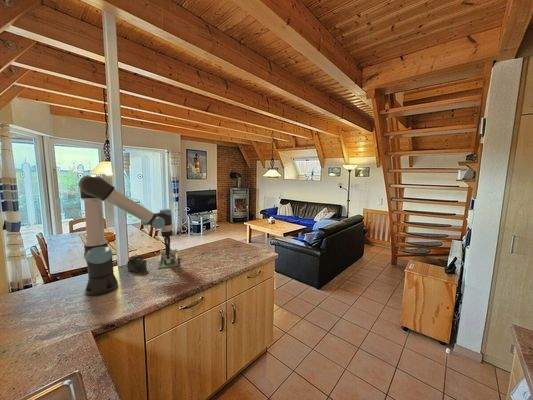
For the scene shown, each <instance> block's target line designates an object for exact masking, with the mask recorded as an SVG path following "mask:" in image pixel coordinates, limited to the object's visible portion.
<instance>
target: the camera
mask: <svg viewBox="0 0 533 400" xmlns="http://www.w3.org/2000/svg"><path fill="white" fill-rule="evenodd" d="M143 258H144V255H141V254H139V255H133V256H132V257H131V258H130V259H129V260H128V261H127V270H128V271H131V272H133V273H138V274H139V273H140V274H141V273H144V272H146V271H147V262H148V261H147V260H146V259H143Z"/></svg>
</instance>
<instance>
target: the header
mask: <svg viewBox="0 0 533 400" xmlns="http://www.w3.org/2000/svg"><path fill="white" fill-rule="evenodd" d="M170 249H171V248H170ZM173 253H174V255H175V262H174V263H169V264H164V261H163V257H164V255H165V254H166V249H165V250H164V249H163V250H159V257H158V264H157V269H158V270H159V269H166V268H168V269H169V268H174V267H175V268H176V267H179V255H178V248H173V249H171V251H170V254H173Z"/></svg>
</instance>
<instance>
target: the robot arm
mask: <svg viewBox="0 0 533 400" xmlns="http://www.w3.org/2000/svg"><path fill="white" fill-rule="evenodd" d="M78 187H79V195H80V199H81V200H82V201H83V203H84V205H83V206H84V216H85V217H84V218H85V229H86V242H85V243H84V244H83V247H84V250H83V251H84V253H83V258H84V260H85V262H86V267H87V275H88V278H87V283H86V287H85V295H87V296H89V297H97V296H102V295H106V294H110V293H112V292H113V291H115V290H117V289H118V287H119V281H118V280H117V278H116V275H115V274H114V263H113V251H112V248H110V247H109V241H108V240H107V239H105V224H104V211H103V210H104V208H103V206H104V205H103V202H108V203H110V204H112V205H113V206H114V207H117V208H119V209H120V210H122V211H124V212H125V213H128V214H129V215H130V216H133V217H134V218H136V219H138V220H140V222H141V225H142V226H144V227H145V226H146V227H147V226H149V227H152V228H153V229H156V230H160V231H161V232H160V234H161V237H162V238H164V239H163V240H164V246H165V250H166V254H165V255H166V264H168V263H171V261H170V251H171V237H172V236H173V235H174V234H173V227H174V225H173V219H172V218H173V217H172V216H173V214H172V209H170V208H162V209H160V210H159V212H154V211H151V210H149V209H148V208H146V207H144V206H143V205H142V204H139V203H138V202H137V201H135V200H133V199H131V198H130V197H128V196H127V195H125V194H123V193H121V192H120V191H118V190H117V189H116V187H115V186H113V184H110V183H109V182H108V181H107V180H105V179H104V178H103V177H102V176H99V175H95V174H86V175H84V176H83V177H81V178H80V179H79V182H78Z"/></svg>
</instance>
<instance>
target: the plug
mask: <svg viewBox="0 0 533 400" xmlns="http://www.w3.org/2000/svg"><path fill="white" fill-rule="evenodd" d="M163 261H164V264H166V255H164V257H163ZM170 261H171V263H174V262H175V255H174V253H173V254H170ZM168 264H169V263H168Z"/></svg>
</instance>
